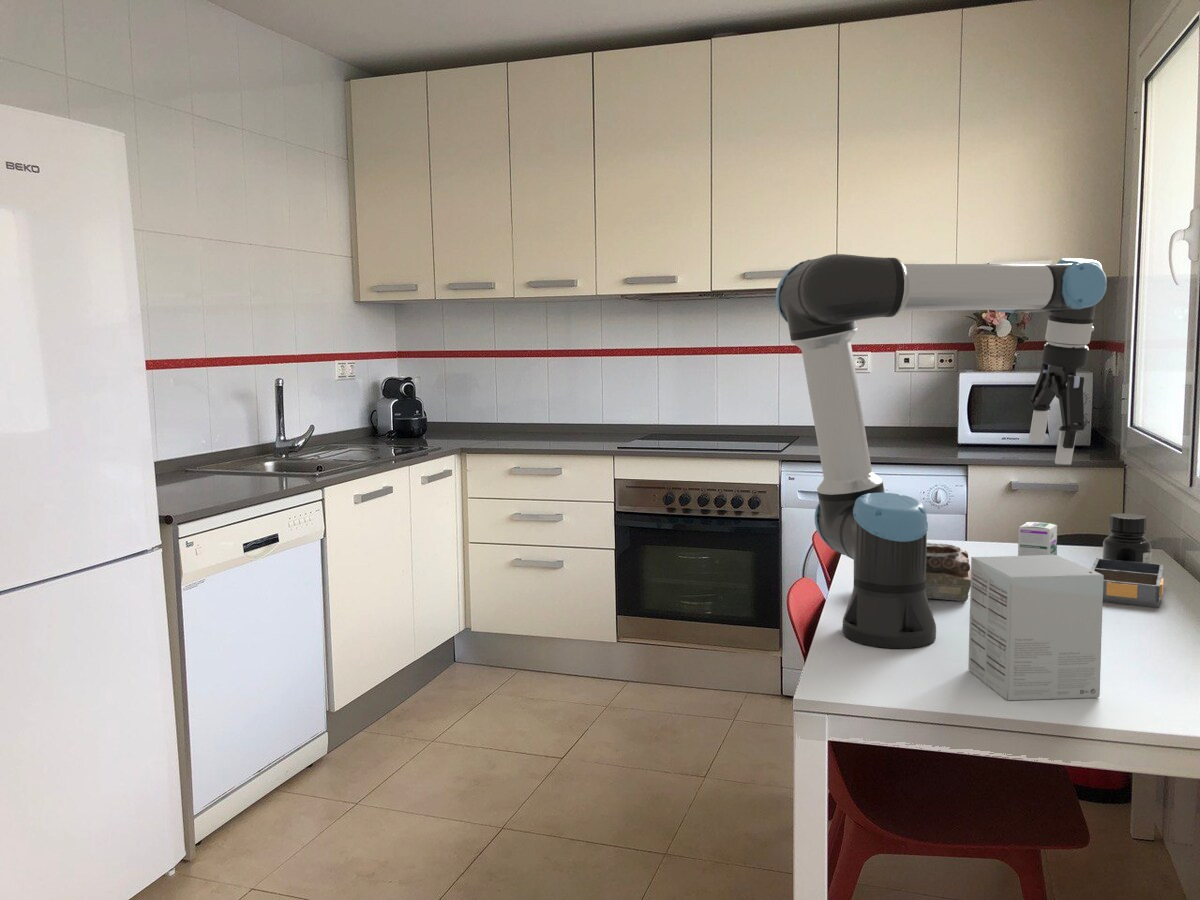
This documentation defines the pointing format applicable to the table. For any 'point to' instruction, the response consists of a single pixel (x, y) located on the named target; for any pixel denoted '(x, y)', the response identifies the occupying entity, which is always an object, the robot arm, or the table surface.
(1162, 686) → the table surface
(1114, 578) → the grey divided tray
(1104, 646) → the table surface
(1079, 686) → the supplement box
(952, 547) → the decorative box
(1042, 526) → the syrup box
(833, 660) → the table surface
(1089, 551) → the table surface
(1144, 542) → the ink bottle
